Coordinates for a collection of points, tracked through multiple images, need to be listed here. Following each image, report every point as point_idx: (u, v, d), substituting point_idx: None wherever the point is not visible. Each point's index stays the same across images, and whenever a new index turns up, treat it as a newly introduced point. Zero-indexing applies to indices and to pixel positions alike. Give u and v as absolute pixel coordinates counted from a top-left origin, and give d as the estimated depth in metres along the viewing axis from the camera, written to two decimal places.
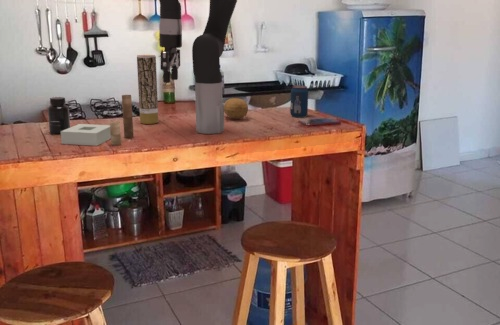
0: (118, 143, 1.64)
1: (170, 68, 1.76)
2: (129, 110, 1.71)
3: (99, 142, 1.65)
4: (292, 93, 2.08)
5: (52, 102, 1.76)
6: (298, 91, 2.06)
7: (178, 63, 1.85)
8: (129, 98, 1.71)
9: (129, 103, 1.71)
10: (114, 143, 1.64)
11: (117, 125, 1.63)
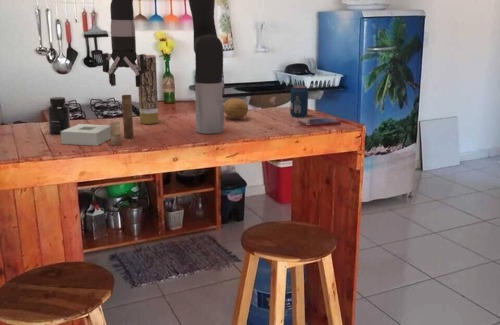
0: (118, 143, 1.64)
1: (138, 71, 1.70)
2: (129, 110, 1.71)
3: (99, 142, 1.65)
4: (292, 93, 2.08)
5: (52, 102, 1.76)
6: (298, 91, 2.06)
7: (108, 68, 1.71)
8: (129, 98, 1.71)
9: (129, 103, 1.71)
10: (114, 143, 1.64)
11: (117, 125, 1.63)
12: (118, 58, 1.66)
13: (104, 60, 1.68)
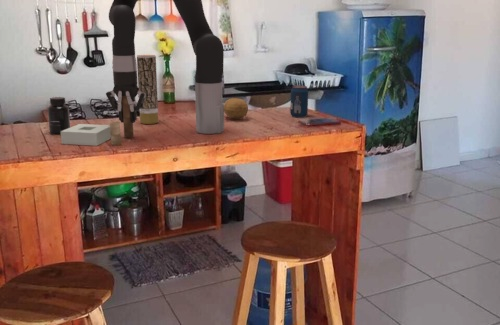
0: (118, 143, 1.64)
1: (133, 106, 1.73)
2: (129, 110, 1.71)
3: (99, 142, 1.65)
4: (292, 93, 2.08)
5: (52, 102, 1.76)
6: (298, 91, 2.06)
7: (117, 104, 1.74)
8: None
9: None
10: (114, 143, 1.64)
11: (117, 125, 1.63)
12: (120, 92, 1.69)
13: (110, 98, 1.71)
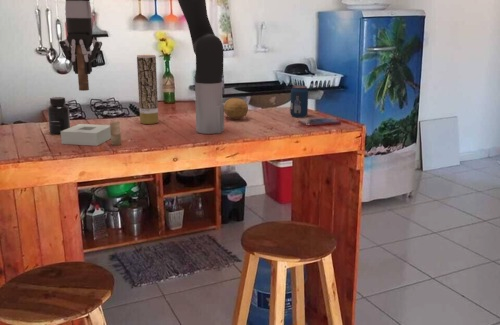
0: (118, 143, 1.64)
1: None
2: (84, 61, 1.62)
3: (99, 142, 1.65)
4: (292, 93, 2.08)
5: (52, 102, 1.76)
6: (298, 91, 2.06)
7: (71, 54, 1.64)
8: None
9: None
10: (114, 143, 1.64)
11: (117, 125, 1.63)
12: (73, 40, 1.60)
13: (63, 47, 1.62)
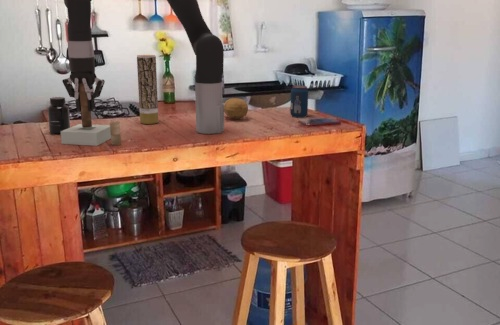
0: (118, 143, 1.64)
1: (91, 94, 1.67)
2: (87, 98, 1.66)
3: (99, 142, 1.65)
4: (292, 93, 2.08)
5: (52, 102, 1.76)
6: (298, 91, 2.06)
7: (75, 92, 1.68)
8: None
9: None
10: (114, 143, 1.64)
11: (117, 125, 1.63)
12: (76, 79, 1.63)
13: (66, 86, 1.65)
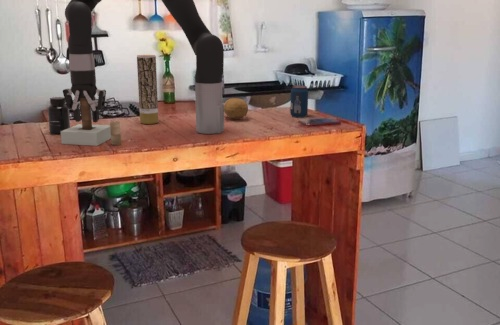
0: (118, 143, 1.64)
1: None
2: (88, 113, 1.67)
3: (99, 142, 1.65)
4: (292, 93, 2.08)
5: (52, 102, 1.76)
6: (298, 91, 2.06)
7: (72, 103, 1.69)
8: None
9: (87, 105, 1.66)
10: (114, 143, 1.64)
11: (117, 125, 1.63)
12: (78, 92, 1.64)
13: (65, 96, 1.66)
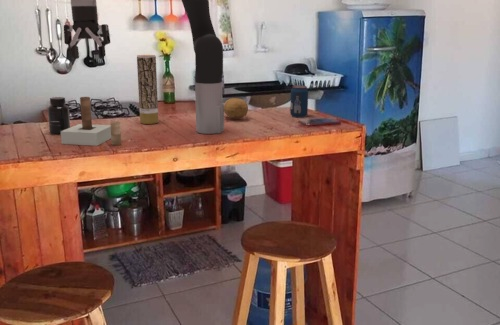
0: (118, 143, 1.64)
1: None
2: (88, 113, 1.67)
3: (99, 142, 1.65)
4: (292, 93, 2.08)
5: (52, 102, 1.76)
6: (298, 91, 2.06)
7: (71, 40, 1.66)
8: (87, 100, 1.66)
9: (87, 105, 1.66)
10: (114, 143, 1.64)
11: (117, 125, 1.63)
12: (79, 29, 1.62)
13: (65, 32, 1.64)
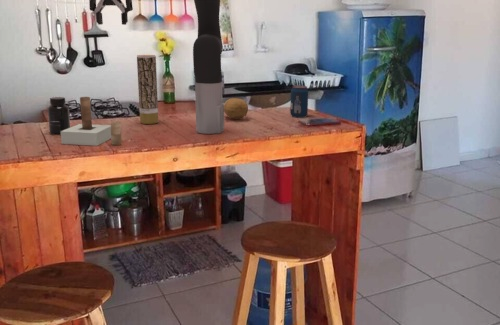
0: (118, 143, 1.64)
1: None
2: (88, 113, 1.67)
3: (99, 142, 1.65)
4: (292, 93, 2.08)
5: (52, 102, 1.76)
6: (298, 91, 2.06)
7: (95, 7, 1.76)
8: (87, 100, 1.66)
9: (87, 105, 1.66)
10: (114, 143, 1.64)
11: (117, 125, 1.63)
12: None
13: None
